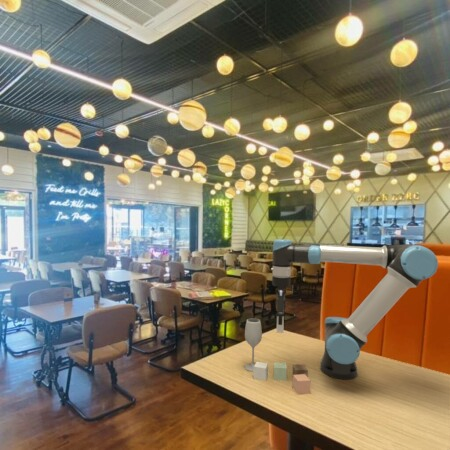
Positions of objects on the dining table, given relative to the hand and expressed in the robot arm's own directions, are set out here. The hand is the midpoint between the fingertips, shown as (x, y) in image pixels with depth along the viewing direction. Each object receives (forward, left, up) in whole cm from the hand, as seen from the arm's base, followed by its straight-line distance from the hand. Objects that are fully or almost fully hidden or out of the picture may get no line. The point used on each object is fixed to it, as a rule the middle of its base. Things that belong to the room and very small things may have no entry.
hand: (280, 327), depth 127 cm
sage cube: (0, 0, -21) cm, 21 cm away
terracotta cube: (-8, +9, -21) cm, 24 cm away
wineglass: (+12, -6, -21) cm, 25 cm away
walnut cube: (-8, 0, -21) cm, 22 cm away
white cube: (+8, +2, -21) cm, 22 cm away
